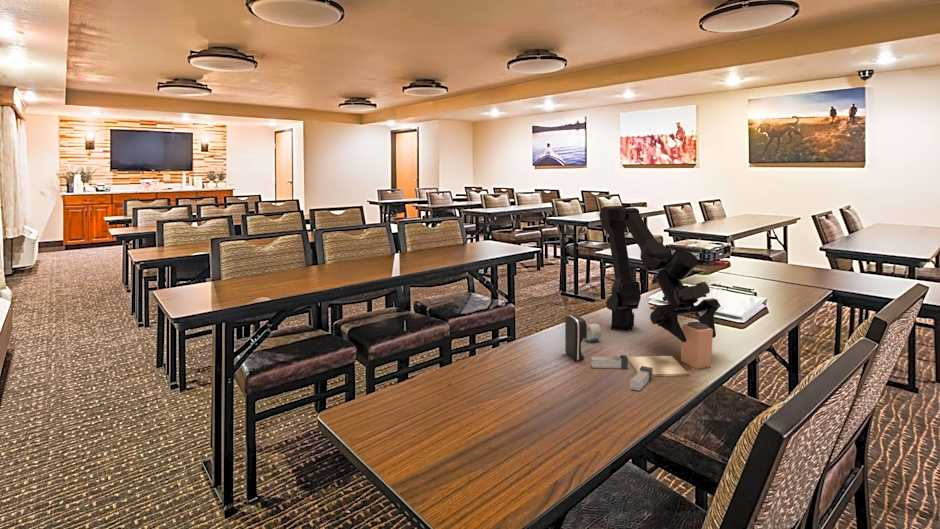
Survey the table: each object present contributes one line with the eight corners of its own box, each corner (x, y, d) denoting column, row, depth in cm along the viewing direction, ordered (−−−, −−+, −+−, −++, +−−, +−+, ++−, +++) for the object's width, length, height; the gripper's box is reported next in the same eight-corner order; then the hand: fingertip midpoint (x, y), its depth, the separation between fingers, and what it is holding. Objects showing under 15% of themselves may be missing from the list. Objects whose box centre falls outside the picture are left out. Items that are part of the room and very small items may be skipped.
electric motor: (577, 338, 160) (577, 322, 159) (591, 336, 162) (591, 320, 161) (589, 345, 154) (589, 329, 153) (603, 343, 155) (603, 327, 154)
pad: (639, 376, 131) (640, 374, 131) (626, 359, 142) (626, 356, 142) (688, 375, 130) (688, 373, 130) (671, 358, 142) (671, 355, 142)
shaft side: (625, 364, 138) (625, 355, 138) (627, 368, 136) (627, 359, 135) (590, 364, 139) (591, 355, 139) (592, 368, 137) (592, 358, 136)
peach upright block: (680, 360, 140) (682, 321, 138) (694, 358, 142) (696, 319, 139) (696, 368, 135) (699, 328, 133) (710, 366, 136) (713, 326, 134)
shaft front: (641, 375, 131) (642, 365, 131) (652, 378, 130) (652, 368, 129) (629, 388, 124) (629, 378, 124) (640, 391, 123) (640, 380, 122)
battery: (588, 360, 142) (588, 319, 140) (575, 361, 142) (575, 321, 139) (577, 351, 149) (577, 312, 147) (564, 353, 148) (564, 314, 146)
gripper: (658, 275, 135) (686, 329, 126) (717, 269, 140) (747, 319, 132) (638, 298, 144) (663, 349, 135) (695, 291, 149) (722, 340, 141)
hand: (700, 339), depth 136 cm, fingers open, 9 cm apart
